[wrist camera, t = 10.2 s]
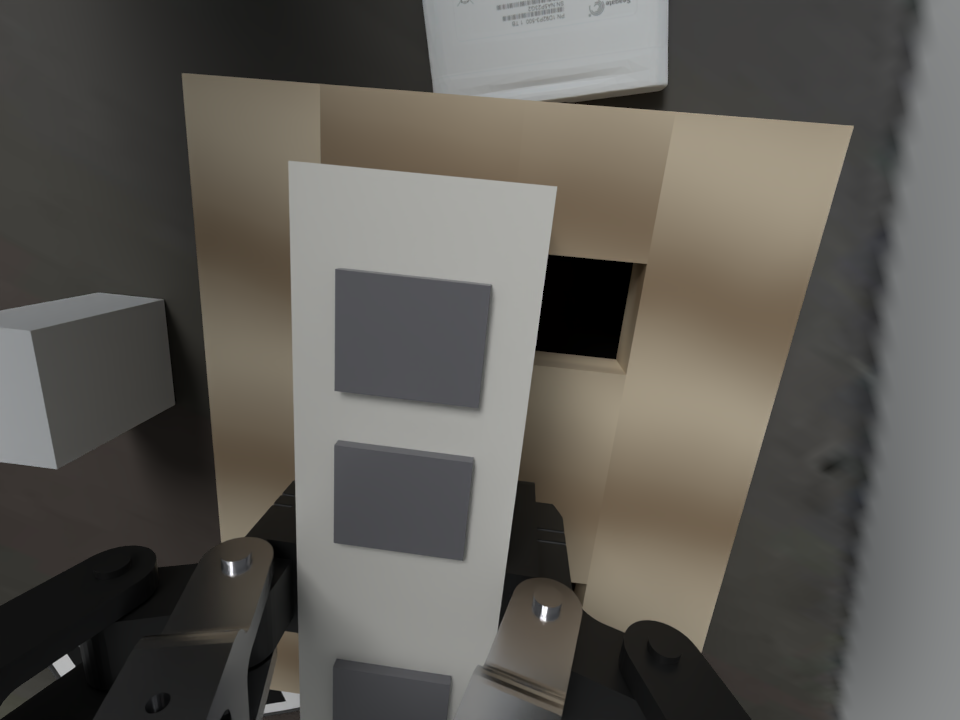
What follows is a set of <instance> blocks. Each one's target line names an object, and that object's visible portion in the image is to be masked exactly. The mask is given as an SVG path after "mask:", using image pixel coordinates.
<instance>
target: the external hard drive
mask: <svg viewBox="0 0 960 720" xmlns="http://www.w3.org/2000/svg"><path fill="white" fill-rule="evenodd" d="M422 3H423V11H424V19H425V27H426V36H427V43H428V52H429V60H430V68H431V76H432V84H433V93H442V94H455V95H467V96H480V97H493V98H505V99H518V100H531V101H543V102H556V103H561V102H568V103H573V102H581V101H588V100H596V99H603V98H611V97H618V96H626V95H633V94H641V93H649V92H656V91H661V90H662V89H664V88H665V87H666V86H667V84H668V0H422Z"/></svg>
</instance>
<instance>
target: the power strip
mask: <svg viewBox="0 0 960 720" xmlns="http://www.w3.org/2000/svg"><path fill="white" fill-rule="evenodd" d="M288 171H289V217H290V264H291V311H292V357H293V404H294V451H295V498H296V544H297V591H298V638H299V684H300V720H453V719H454V717H455V714H456V712H457V709H458V707H459V705H460V702H461V700H462V698H463V695H464V693H465V690H466V688H467V686H468V683H469V681H470V679H471V676H472V674H473V672H474V670H475V668H476V667H477V666H478V665H482V666H484V664H485V661H486V659H487V656H488V654H489V651H490V649H491V646H492V644H493V642H494V639H495V637H496V634H497V631H498V623H499V616H500V608H501V601H502V593H503V586H504V579H505V571H506V564H507V556H508V549H509V541H510V534H511V527H512V519H513V512H514V504H515V497H516V489H517V482H518V475H519V467H520V460H521V452H522V445H523V437H524V430H525V423H526V415H527V408H528V400H529V393H530V385H531V378H532V371H533V363H534V356H535V348H536V341H537V334H538V326H539V319H540V311H541V304H542V296H543V289H544V282H545V274H546V267H547V259H548V252H549V244H550V237H551V230H552V222H553V215H554V207H555V200H556V192H557V186H547V185H536V184H526V183H516V182H505V181H495V180H485V179H474V178H464V177H453V176H443V175H433V174H422V173H412V172H401V171H391V170H381V169H370V168H360V167H350V166H339V165H329V164H318V163H308V162H298V161H288Z"/></svg>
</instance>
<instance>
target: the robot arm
mask: <svg viewBox="0 0 960 720" xmlns="http://www.w3.org/2000/svg"><path fill="white" fill-rule="evenodd" d="M285 631H288V632H294V633H298V591H297V544H296V498H295V480H294V481H292V483H291V484H290V485H289V486H288V487H287V488H286V489H285V491H284V492H283V493H282V495H280V496H279V498H278V499H277V500H276V501H275V502H274V505H272V506H271V507H270V508H269V509H268V510H267V512H266V513H265V514H264V515H263V516H262V517H261V518H260V520H259V521H258V522H257V523H256V524H255V525H254V527H253V528H252V529H251V530H250V531H249V532H248V534H247V535H246V536H245V537H240V538H234V539H231V540H227V541H225V542H222V543H220V544H218V545H216V546H214V547H213V548H211V549H210V550H209V551H207V552H206V553H205V554H204V555H203V556H202V558H201V559H200V561H199V563H197V564H189V565H179V566H169V567H157V559H156V555H155V553H154V552H153V551H152V550H151V549H149V548H146V547H142V546H123V547H118V548H113V549H110V550H107V551H104V552H101V553H99V554H96V555H94V556H92V557H90V558H88V559H87V560H85V561H83V562H81V563H79V564H77V565H75V566H74V567H72V568H70V569H68V570H66V571H64V572H62V573H61V574H59V575H57V576H55V577H53V578H51V579H49V580H48V581H46V582H44V583H42V584H40V585H38V586H36V587H35V588H33V589H31V590H29V591H27V592H25V593H23V594H21V595H20V596H18V597H16V598H14V599H12V600H10V601H8V602H7V603H5V604H3V605H1V606H0V706H1V704H2V703H3V701H4V700H5V699H6V698H7V696H8V695H9V694H10V693H11V692H13V691H14V690H15V689H16V688H17V687H19V686H20V685H21V684H23V683H24V682H26V681H27V680H29V679H30V678H32V677H33V676H35V675H36V674H38V673H39V672H41V671H42V670H44V669H45V668H47V667H48V666H50V665H51V664H53V663H54V662H56V661H57V660H59V659H60V658H62V657H63V656H65V655H66V654H68V653H69V652H71V651H72V650H74V649H75V648H77V647H78V646H80V651H81V656H82V661H83V662H82V663H80V664H79V665H77V666H76V667H74V668H73V669H72V670H70V671H69V672H67V673H66V674H64V675H63V676H62V677H60V678H59V679H57V680H56V681H54V682H53V683H52V684H50V685H49V686H47V687H46V688H44V689H43V690H42V691H40V692H39V693H37V694H36V695H35V696H33V697H32V698H30V699H29V700H27V701H26V702H25V703H23V704H22V705H20V706H19V707H17V708H16V709H15V710H13V711H12V712H10V713H9V714H7V715H6V716H5V717H3V718H2V719H0V720H262V718H263V714H264V710H265V706H266V701H267V697H268V693H269V689H270V685H271V681H272V677H273V673H274V669H275V665H276V661H277V645H278V643H279V641H280V639H281V638H282V636H283V634H284V632H285ZM453 720H751V718H750V717H749V716H748V714H747V713H746V712H745V710H744V709H743V708H742V706H741V705H740V704H739V702H738V701H737V700H736V699H735V697H734V696H733V695H732V693H731V692H730V691H729V689H728V688H727V687H726V685H725V684H724V683H723V681H722V680H721V679H720V677H719V676H718V675H717V673H716V672H715V671H714V670H713V668H712V667H711V666H710V664H709V663H708V662H707V660H706V659H705V658H704V656H703V655H702V654H701V652H700V651H699V650H698V648H697V647H696V646H695V645H694V644H693V642H692V641H691V640H690V639H689V638H688V637H687V636H685V635H684V634H683V633H681V632H680V631H679V630H677V629H675V628H674V627H672V626H669V625H667V624H665V623H662V622H658V621H652V620H642V621H637V622H635V623H633V624H631V625H630V626H629V627H628V628H627V630H626V632H622V631H620V630H617V629H615V628H613V627H610V626H608V625H605V624H603V623H601V622H599V621H597V620H596V619H594V618H593V617H591V616H590V615H589V614H587V613H586V612H585V611H584V610H583V609H582V605H581V602H580V600H579V599H578V597H577V595H576V594H575V593H574V592H573V591H572V584H571V577H570V569H569V562H568V554H567V547H566V539H565V534H564V524H563V517H562V516H561V514H560V513H559V512H558V510H557V509H556V508H555V506H554V505H553V504H548V503H540V502H536V497H535V483H534V482H527V481H519V480H518V482H517V489H516V497H515V504H514V512H513V519H512V527H511V534H510V541H509V549H508V556H507V564H506V571H505V579H504V586H503V593H502V601H501V608H500V616H499V623H498V631H497V634H496V637H495V639H494V642H493V644H492V646H491V649H490V651H489V654H488V656H487V659H486V661H485V664H484V666H482V665H478V666H477V667H476V668H475V670H474V672H473V674H472V676H471V679H470V681H469V683H468V686H467V688H466V690H465V693H464V695H463V698H462V700H461V702H460V705H459V707H458V709H457V712H456V714H455V717H454V719H453Z"/></svg>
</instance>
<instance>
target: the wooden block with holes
mask: <svg viewBox="0 0 960 720" xmlns="http://www.w3.org/2000/svg"><path fill="white" fill-rule="evenodd" d="M182 84H183V96H184V108H185V120H186V132H187V143H188V155H189V167H190V179H191V191H192V202H193V214H194V226H195V238H196V250H197V261H198V273H199V285H200V297H201V309H202V320H203V332H204V344H205V356H206V368H207V379H208V391H209V403H210V415H211V427H212V438H213V450H214V462H215V474H216V486H217V497H218V509H219V521H220V533H221V543H222V542H225V541H227V540H231V539H234V538H240V537H245V536H246V535H247V534H248V532H249V531H250V530H251V529H252V528H253V527H254V525H255V524H256V523H257V522H258V521H259V520H260V518H261V517H262V516H263V515H264V514H265V513H266V512H267V510H268V509H269V508H270V507H271V506H272V505H274V502H275V501H276V500H277V499H278V498H279V496H280V495H282V493H283V492H284V491H285V489H286V488H287V487H288V486H289V485H290V484H291V483H292V481H294V480H295V451H294V404H293V357H292V311H291V264H290V217H289V171H288V161H298V162H308V163H318V164H329V165H339V166H350V167H360V168H370V169H381V170H391V171H401V172H412V173H422V174H433V175H443V176H453V177H464V178H474V179H485V180H495V181H505V182H516V183H526V184H536V185H547V186H557V192H556V200H555V207H554V215H553V222H552V230H551V237H550V244H549V252H548V254H549V255H559V256H570V257H580V258H591V259H601V260H611V261H622V262H632V263H633V268H632V273H631V279H630V284H629V290H628V296H627V301H626V307H625V312H624V318H623V323H622V329H621V334H620V340H619V346H618V351H617V357H616V359H608V358H598V357H589V356H580V355H570V354H561V353H552V352H543V351H535V356H534V363H533V371H532V378H531V385H530V393H529V400H528V408H527V415H526V423H525V430H524V437H523V445H522V452H521V460H520V467H519V475H518V480H519V481H527V482H534V483H535V497H536V502H540V503H548V504H553V505H554V506H555V508H556V509H557V510H558V512H559V513H560V514H561V516H562V517H563V524H564V534H565V539H566V547H567V554H568V562H569V569H570V577H571V584H572V591H573V592H574V593H575V594H576V595H577V597H578V599H579V600H580V602H581V605H582V609H583V610H584V611H585V612H586V613H587V614H589V615H590V616H591V617H593V618H594V619H596V620H597V621H599V622H601V623H603V624H605V625H608V626H610V627H613V628H615V629H617V630H620V631H622V632H626V630H627V628H628V627H629V626H630V625H631V624H633V623H635V622H637V621H642V620H652V621H658V622H662V623H665V624H667V625H669V626H672V627H674V628H675V629H677V630H679V631H680V632H681V633H683V634H684V635H685V636H687V637H688V638H689V639H690V640H691V641H692V642H693V644H694V645H695V646H696V647H697V648H698V650H699V651H700V652H702V649H703V645H704V642H705V638H706V635H707V631H708V628H709V624H710V621H711V618H712V614H713V611H714V607H715V604H716V600H717V597H718V593H719V590H720V586H721V583H722V580H723V576H724V573H725V569H726V566H727V562H728V559H729V555H730V552H731V549H732V545H733V542H734V538H735V535H736V531H737V528H738V524H739V521H740V517H741V514H742V511H743V507H744V504H745V500H746V497H747V493H748V490H749V486H750V483H751V479H752V476H753V473H754V469H755V466H756V462H757V459H758V455H759V452H760V448H761V445H762V441H763V438H764V435H765V431H766V428H767V424H768V421H769V417H770V414H771V410H772V407H773V403H774V400H775V397H776V393H777V390H778V386H779V383H780V379H781V376H782V372H783V369H784V365H785V362H786V359H787V355H788V352H789V348H790V345H791V341H792V338H793V334H794V331H795V327H796V324H797V321H798V317H799V314H800V310H801V307H802V303H803V300H804V296H805V293H806V289H807V286H808V283H809V279H810V276H811V272H812V269H813V265H814V262H815V258H816V255H817V251H818V248H819V245H820V241H821V238H822V234H823V231H824V227H825V224H826V220H827V217H828V213H829V210H830V207H831V203H832V200H833V196H834V193H835V189H836V186H837V182H838V179H839V175H840V172H841V169H842V165H843V162H844V158H845V155H846V151H847V148H848V144H849V141H850V138H851V134H852V131H853V127H854V126H848V125H835V124H823V123H810V122H797V121H784V120H772V119H759V118H746V117H734V116H721V115H708V114H696V113H683V112H670V111H658V110H645V109H632V108H620V107H607V106H594V105H582V104H569V103H556V102H543V101H531V100H518V99H505V98H493V97H480V96H467V95H455V94H442V93H429V92H417V91H404V90H391V89H379V88H366V87H353V86H340V85H328V84H315V83H302V82H290V81H277V80H264V79H252V78H239V77H226V76H214V75H201V74H188V73H182ZM270 689H271V690H277V691H284V692H291V693H297V694H300V684H299V638H298V633H294V632H288V631H285V632H284V634H283V636H282V638H281V639H280V641H279V643H278V645H277V661H276V665H275V669H274V673H273V677H272V681H271V685H270Z"/></svg>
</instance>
